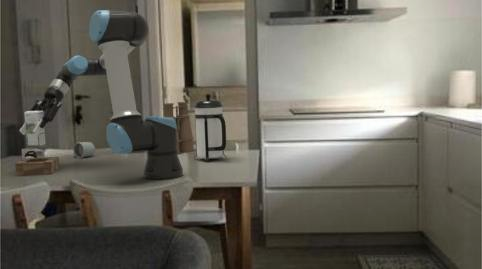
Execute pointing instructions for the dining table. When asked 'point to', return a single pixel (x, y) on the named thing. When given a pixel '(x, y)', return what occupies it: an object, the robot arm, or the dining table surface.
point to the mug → (31, 153)
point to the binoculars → (181, 126)
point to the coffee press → (209, 129)
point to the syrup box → (30, 123)
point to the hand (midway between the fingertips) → (28, 133)
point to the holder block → (37, 166)
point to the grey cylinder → (84, 149)
